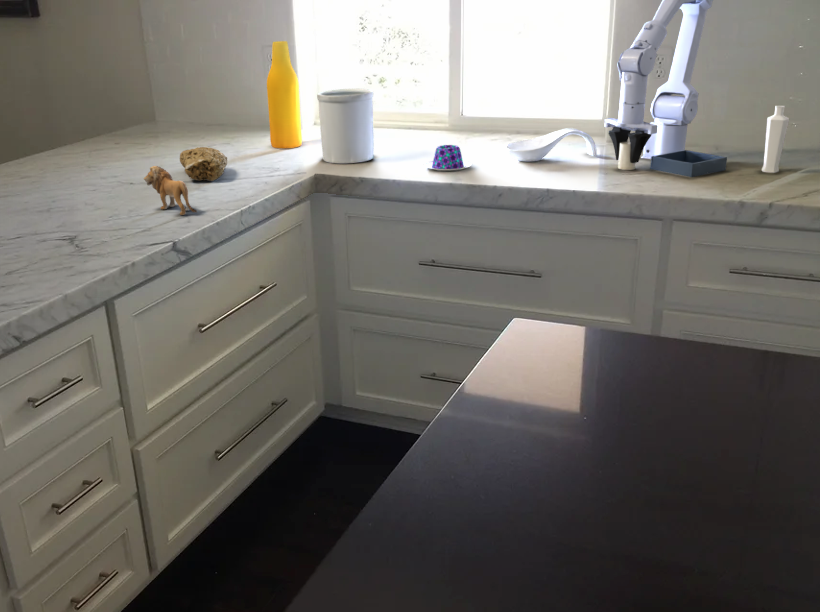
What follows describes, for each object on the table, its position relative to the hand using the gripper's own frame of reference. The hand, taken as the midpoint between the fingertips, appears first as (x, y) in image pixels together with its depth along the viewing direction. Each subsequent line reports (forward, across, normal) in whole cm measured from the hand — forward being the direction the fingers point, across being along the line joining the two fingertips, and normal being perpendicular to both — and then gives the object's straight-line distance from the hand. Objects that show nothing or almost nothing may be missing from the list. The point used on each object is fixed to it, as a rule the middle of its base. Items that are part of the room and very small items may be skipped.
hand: (627, 161), depth 208 cm
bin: (+2, +10, +10) cm, 14 cm away
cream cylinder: (+2, 0, 0) cm, 2 cm away
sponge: (+2, -64, -83) cm, 105 cm away
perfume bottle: (+2, +23, +23) cm, 32 cm away
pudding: (+2, -30, -31) cm, 43 cm away
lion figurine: (+3, -33, -103) cm, 108 cm away
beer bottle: (+2, -86, -48) cm, 99 cm away
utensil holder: (+2, -57, -44) cm, 72 cm away
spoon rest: (+2, -23, -4) cm, 23 cm away
